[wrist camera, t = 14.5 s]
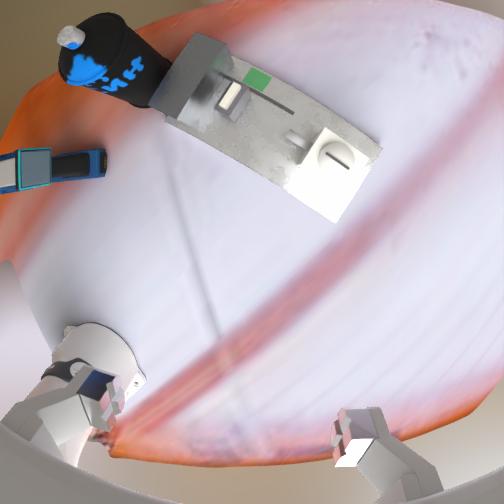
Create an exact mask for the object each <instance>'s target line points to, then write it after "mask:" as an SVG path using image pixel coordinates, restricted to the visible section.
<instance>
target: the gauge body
mask: <svg viewBox="0 0 504 504" xmlns="http://www.w3.org/2000/svg"><path fill="white" fill-rule="evenodd" d="M285 137H286V138H287V139H289V140H291V141H292V142H294V143H295V144H297V145H298V146H300V147H302V148H303V149H305V150H306V151H305V152H304V154H303V155H302V157H301V159H300V160H299V162H298V163H297V165H298V166H300V167H301V168H303V169H304V170H306V171H307V172H309V173H310V174H312V175H313V176H315V177H316V178H318V179H319V180H321V181H322V182H324V183H325V184H327V185H328V186H330V187H331V188H332V189H334V190H335V191H337V192H340V193H342V194H344V195H347V193H348V192H349V190H350V189H351V187H352V186H353V184H354V182H355V181H356V179H357V178H358V176H359V175H360V173H361V171H362V170H363V168H364V167H365V165H366V164H367V162H368V160H369V158H368V157H367V156H365V155H364V154H363V153H361V152H360V151H359V150H357V149H356V148H354V147H353V146H352V145H350V144H349V143H347V142H346V141H345V140H343V139H342V138H340V137H339V136H338V135H336V134H335V133H333V132H332V131H330V130H329V129H327V128H326V127H324V128H323V129H321V130H320V131H318V132H317V134H316V135H315V137H314V138H313V140H312V142H311V141H309V140H308V139H306V138H305V137H303V136H302V135H300V134H298V133H297V132H295V131H294V130H292V129H290V130H289V132H288V133H287V135H286V136H285Z"/></svg>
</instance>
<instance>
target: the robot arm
mask: <svg viewBox="0 0 504 504" xmlns="http://www.w3.org/2000/svg"><path fill="white" fill-rule="evenodd" d="M52 362H53V364H52V365H51V366H49V367H48V368H47V369H46V371H45V372H44V374H43V375H42V377H41V381H40V382H39V383H38V385H37V386H36V387H35V388H34V389H33V390H32V391H31V393H30V394H29V395H28V396H27V397H26V398H25V400H24V401H21V402H18V403H16V404H15V405H14V406H13V407H12V408H11V410H10V411H9V412H8V413H7V414H6V415H5V417H4V418H3V419H2V420H1V422H0V504H183V503H178V502H174V501H170V500H166V499H162V498H158V497H155V496H151V495H148V494H145V493H141V492H138V491H135V490H132V489H129V488H126V487H123V486H120V485H118V484H114V483H112V482H109V481H107V480H105V479H102V478H100V477H97V476H95V475H92V474H90V473H88V472H86V471H83V470H81V469H79V468H77V465H78V460H79V457H80V454H81V451H82V449H83V447H84V445H85V443H86V441H87V438H88V437H89V435H90V433H91V431H92V429H93V427H96V428H98V429H101V430H104V431H107V432H110V431H111V429H112V427H113V426H114V424H115V422H116V418H115V415H117V414H119V413H121V411H122V409H123V406H124V402H125V401H126V400H128V399H129V398H130V397H131V396H132V395H133V394H134V393H135V392H136V391H137V390H138V389H139V388H141V387H142V386H143V385H144V383H145V382H146V378H145V376H144V375H143V373H142V372H141V371H140V369H139V368H138V365H137V362H136V359H135V357H134V355H133V353H132V351H131V349H130V348H129V346H128V345H127V344H126V343H125V342H124V341H123V340H122V339H121V338H120V337H119V336H118V335H117V334H116V333H114V332H113V331H111V330H110V329H108V328H106V327H104V326H101V325H98V324H94V323H86V324H83V325H80V326H77V327H75V326H66V328H65V329H64V340H63V341H62V342H61V343H60V344H59V345H58V347H57V348H56V349H55V350H54V352H53V353H52ZM330 439H331V444H332V445H333V446H334V447H335V450H334V452H333V458H334V464H335V467H339V466H356V468H357V469H358V470H359V471H360V472H361V473H362V474H363V475H364V477H365V478H366V479H367V480H368V481H369V482H370V483H371V484H372V486H373V487H374V488H375V489H376V490H377V491H378V492H379V493H380V494H381V495H382V496H381V497H380V498H379V499H378V500H377V501H376V502H375V503H373V504H504V466H503V467H500V468H499V469H497V470H495V471H493V472H490V473H488V474H486V475H484V476H481V477H479V478H477V479H474V480H472V481H469V482H467V483H465V484H462V485H459V486H456V487H454V488H451V489H448V490H445V491H444V489H443V486H442V484H441V481H440V478H439V476H438V473H437V471H436V468H435V467H434V466H433V465H431V464H430V463H429V462H427V461H426V460H425V459H423V458H422V457H421V456H419V455H418V454H417V453H415V452H414V451H412V450H411V449H410V448H409V447H407V446H406V445H405V444H403V443H402V442H401V441H399V440H398V439H397V438H396V437H391V434H390V432H389V429H388V426H387V424H386V421H385V418H384V416H383V413H382V410H381V408H380V407H367V408H366V407H361V408H341V409H340V411H339V413H338V420H336V421H335V422H334V423H333V426H332V428H331V434H330Z"/></svg>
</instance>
